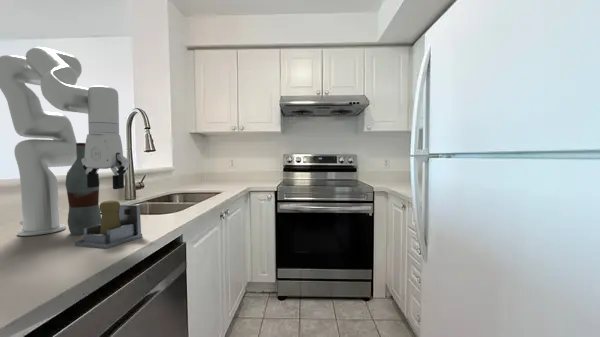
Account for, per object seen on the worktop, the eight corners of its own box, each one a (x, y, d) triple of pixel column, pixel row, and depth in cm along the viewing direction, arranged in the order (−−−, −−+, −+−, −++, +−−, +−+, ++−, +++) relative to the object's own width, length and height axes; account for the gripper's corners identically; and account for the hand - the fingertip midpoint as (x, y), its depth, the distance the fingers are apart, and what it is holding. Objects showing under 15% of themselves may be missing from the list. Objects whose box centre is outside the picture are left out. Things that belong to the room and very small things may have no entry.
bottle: (60, 235, 97) (55, 142, 96) (81, 228, 106) (77, 143, 105) (89, 235, 97) (84, 142, 95) (108, 228, 106) (103, 143, 105)
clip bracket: (74, 245, 85) (73, 210, 85) (112, 234, 97) (111, 203, 96) (107, 248, 82) (105, 211, 81) (142, 236, 93) (140, 204, 93)
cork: (112, 240, 85) (110, 202, 85) (94, 240, 86) (92, 202, 86) (128, 235, 91) (126, 199, 91) (110, 234, 92) (108, 199, 92)
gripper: (69, 129, 87) (71, 188, 88) (115, 128, 82) (117, 191, 83) (94, 131, 94) (95, 185, 95) (138, 130, 89) (139, 187, 90)
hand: (105, 187), depth 89 cm, fingers open, 9 cm apart
